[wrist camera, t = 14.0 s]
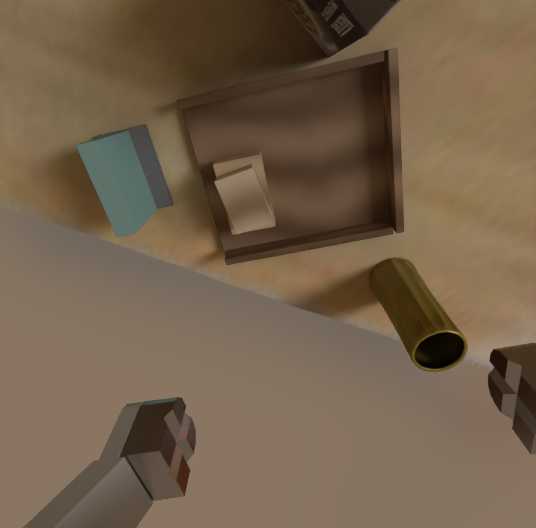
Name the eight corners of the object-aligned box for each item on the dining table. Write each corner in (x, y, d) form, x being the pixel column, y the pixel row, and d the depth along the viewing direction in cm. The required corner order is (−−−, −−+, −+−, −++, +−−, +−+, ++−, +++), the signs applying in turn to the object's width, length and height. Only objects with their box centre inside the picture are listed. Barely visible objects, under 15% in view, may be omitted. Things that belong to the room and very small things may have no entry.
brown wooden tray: (181, 99, 36) (173, 101, 33) (386, 50, 34) (397, 47, 31) (226, 253, 44) (223, 265, 41) (394, 221, 42) (404, 232, 39)
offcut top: (217, 176, 36) (214, 181, 35) (252, 163, 36) (251, 168, 34) (238, 227, 39) (237, 234, 37) (272, 215, 38) (272, 222, 36)
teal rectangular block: (110, 134, 37) (75, 145, 31) (128, 130, 37) (96, 140, 30) (141, 212, 41) (116, 237, 35) (157, 209, 41) (135, 233, 34)
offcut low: (215, 160, 38) (212, 164, 36) (260, 150, 37) (259, 154, 35) (234, 227, 41) (232, 234, 39) (275, 219, 41) (275, 226, 39)
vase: (360, 278, 46) (394, 352, 33) (398, 248, 44) (450, 314, 31) (388, 305, 48) (431, 385, 35) (426, 277, 46) (486, 351, 33)
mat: (94, 136, 38) (92, 137, 37) (145, 124, 37) (144, 125, 37) (126, 214, 42) (124, 215, 41) (173, 204, 41) (172, 205, 41)
